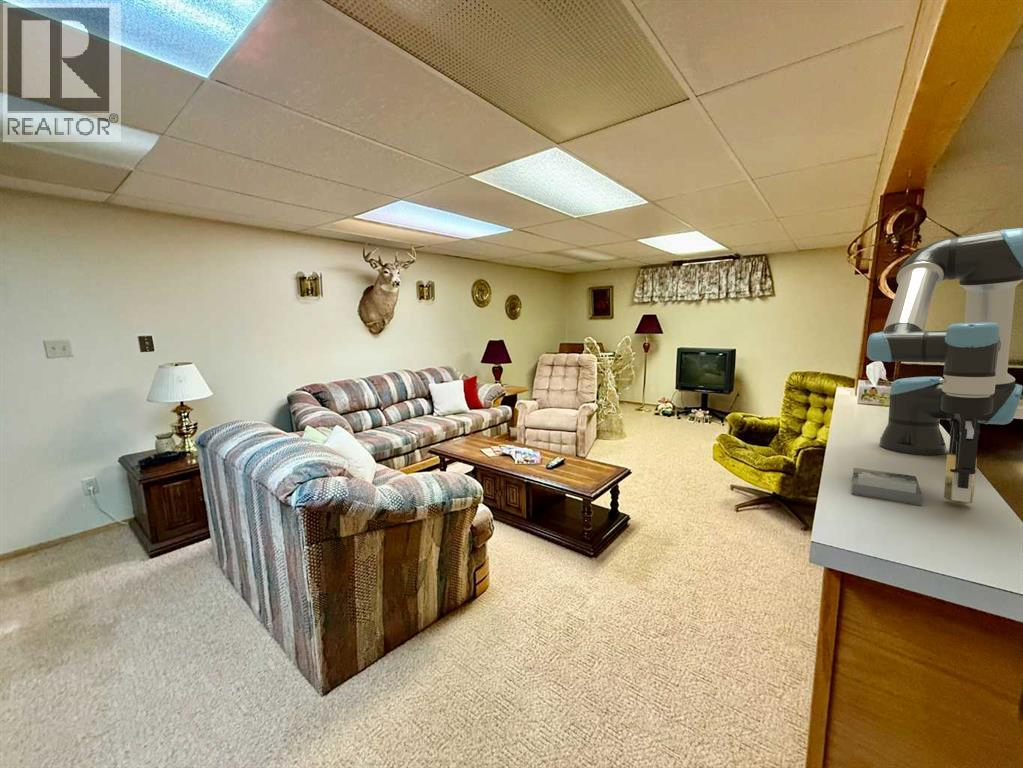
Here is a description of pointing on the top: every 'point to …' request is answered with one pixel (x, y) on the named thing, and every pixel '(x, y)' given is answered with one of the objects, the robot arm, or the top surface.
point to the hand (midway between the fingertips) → (958, 496)
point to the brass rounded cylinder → (949, 478)
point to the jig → (886, 486)
